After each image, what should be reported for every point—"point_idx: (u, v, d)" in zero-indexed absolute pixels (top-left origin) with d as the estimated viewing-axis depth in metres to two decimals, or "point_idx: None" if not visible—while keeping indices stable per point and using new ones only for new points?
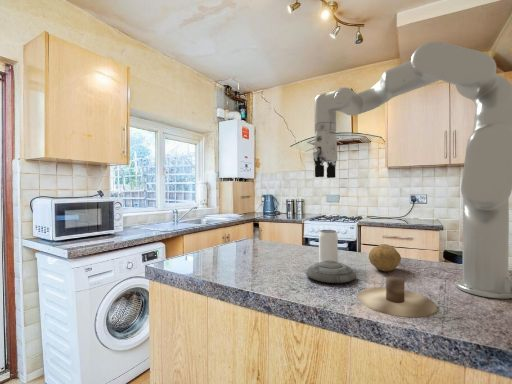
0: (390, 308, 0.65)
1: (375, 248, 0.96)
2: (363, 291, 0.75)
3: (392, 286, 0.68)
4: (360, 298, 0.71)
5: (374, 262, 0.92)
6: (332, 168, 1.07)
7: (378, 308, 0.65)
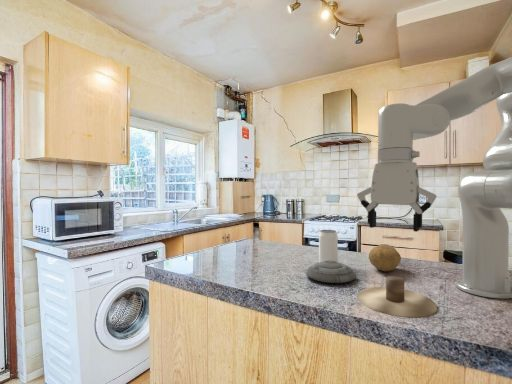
0: (390, 308, 0.65)
1: (375, 248, 0.96)
2: (363, 291, 0.75)
3: (392, 286, 0.68)
4: (360, 298, 0.70)
5: (374, 262, 0.92)
6: (375, 213, 0.73)
7: (379, 308, 0.65)
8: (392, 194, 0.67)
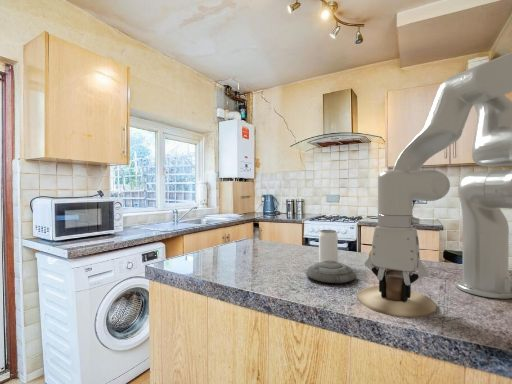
0: (391, 307, 0.64)
1: None
2: (362, 290, 0.75)
3: (392, 284, 0.68)
4: (360, 297, 0.70)
5: None
6: None
7: (379, 307, 0.64)
8: (392, 260, 0.68)
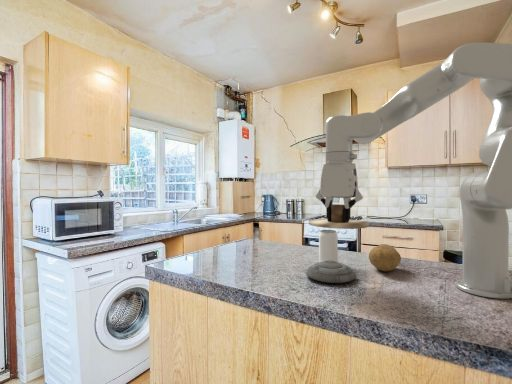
0: (332, 224, 0.80)
1: (375, 248, 0.96)
2: (314, 219, 0.90)
3: (335, 209, 0.83)
4: (310, 221, 0.85)
5: (374, 262, 0.92)
6: None
7: (322, 224, 0.80)
8: (335, 189, 0.83)
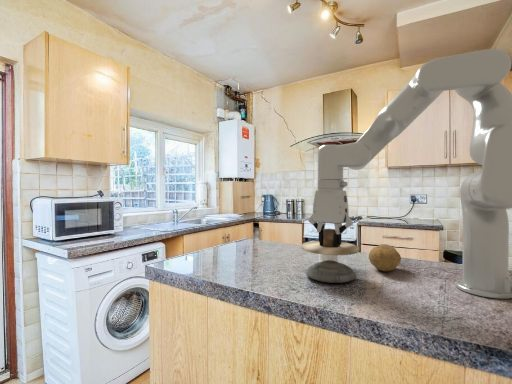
0: (322, 249, 0.83)
1: (375, 248, 0.96)
2: (307, 242, 0.94)
3: (326, 234, 0.87)
4: (302, 245, 0.89)
5: (374, 262, 0.92)
6: None
7: (313, 249, 0.83)
8: (327, 215, 0.86)
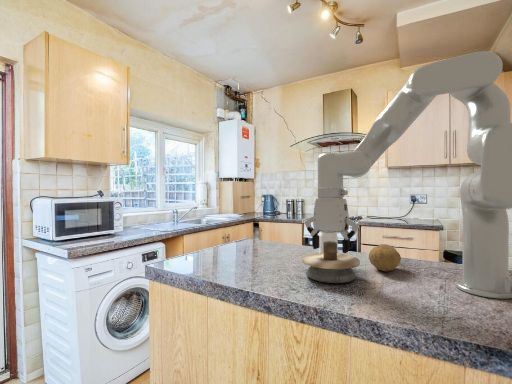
0: (323, 263, 0.83)
1: (375, 248, 0.96)
2: (308, 254, 0.94)
3: (327, 247, 0.87)
4: (303, 258, 0.89)
5: (374, 262, 0.92)
6: (318, 237, 0.91)
7: (314, 263, 0.83)
8: (327, 223, 0.86)
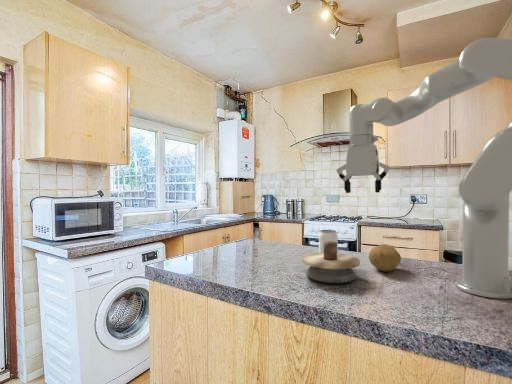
0: (324, 263, 0.83)
1: (375, 248, 0.96)
2: (307, 255, 0.93)
3: (327, 247, 0.87)
4: (303, 258, 0.88)
5: (374, 262, 0.92)
6: (349, 183, 1.01)
7: (315, 263, 0.83)
8: (360, 167, 0.96)
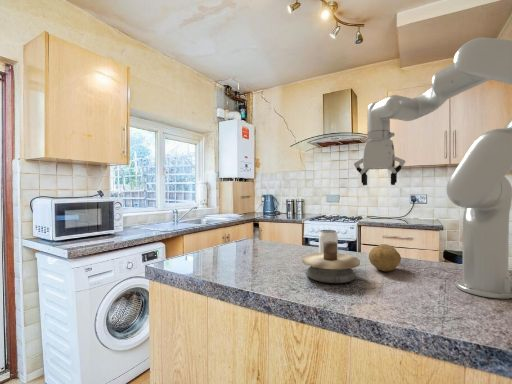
0: (325, 263, 0.82)
1: (375, 248, 0.96)
2: (306, 255, 0.93)
3: (327, 247, 0.86)
4: (303, 259, 0.88)
5: (374, 262, 0.92)
6: (366, 176, 1.07)
7: (316, 264, 0.82)
8: (376, 161, 1.02)
